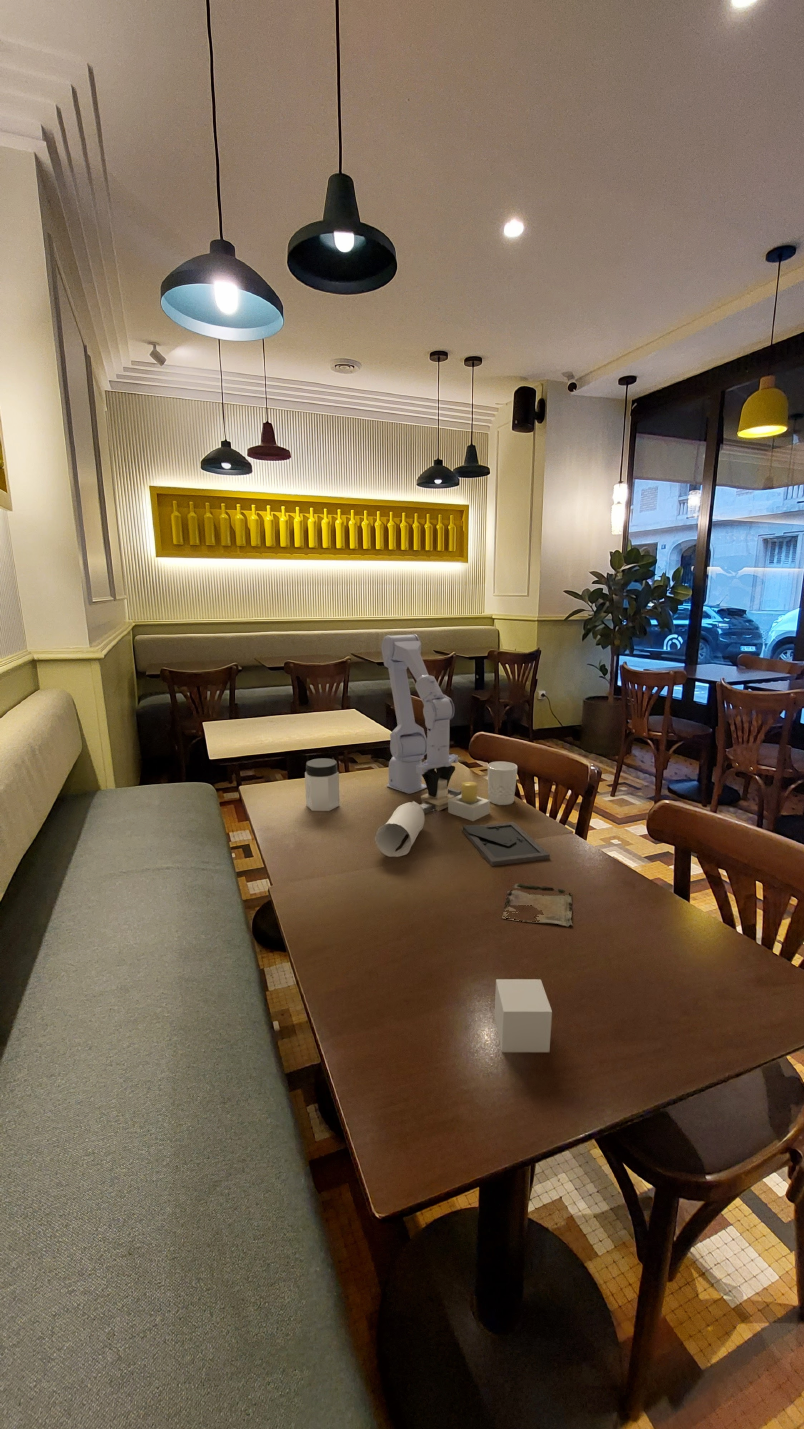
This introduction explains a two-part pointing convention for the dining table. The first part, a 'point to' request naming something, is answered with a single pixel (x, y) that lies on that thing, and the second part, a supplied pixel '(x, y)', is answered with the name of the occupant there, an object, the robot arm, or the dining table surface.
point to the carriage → (438, 796)
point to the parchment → (542, 905)
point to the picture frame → (504, 843)
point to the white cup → (501, 782)
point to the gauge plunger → (469, 791)
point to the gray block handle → (430, 806)
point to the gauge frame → (469, 808)
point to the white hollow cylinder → (400, 829)
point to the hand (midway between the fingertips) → (437, 793)
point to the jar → (322, 784)
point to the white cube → (522, 1015)
